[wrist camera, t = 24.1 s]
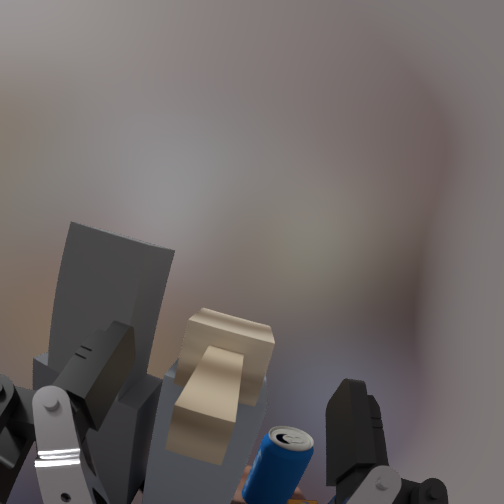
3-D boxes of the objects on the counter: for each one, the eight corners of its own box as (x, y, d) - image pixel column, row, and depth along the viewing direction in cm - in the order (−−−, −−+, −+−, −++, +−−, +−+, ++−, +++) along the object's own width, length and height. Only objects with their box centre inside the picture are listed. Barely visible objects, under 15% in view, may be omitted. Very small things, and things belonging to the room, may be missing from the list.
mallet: (254, 493, 10) (291, 404, 10) (122, 454, 10) (136, 360, 10) (254, 378, 25) (270, 326, 26) (190, 359, 26) (203, 307, 26)
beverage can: (238, 483, 33) (262, 421, 34) (281, 487, 34) (309, 427, 34) (241, 512, 27) (269, 448, 27) (289, 515, 27) (323, 453, 28)
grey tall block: (139, 526, 20) (164, 374, 21) (160, 479, 30) (191, 343, 31) (211, 547, 19) (268, 404, 20) (219, 496, 29) (264, 363, 30)
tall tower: (38, 466, 21) (55, 216, 23) (68, 440, 29) (96, 227, 31) (125, 512, 21) (172, 251, 23) (145, 476, 29) (193, 255, 30)
